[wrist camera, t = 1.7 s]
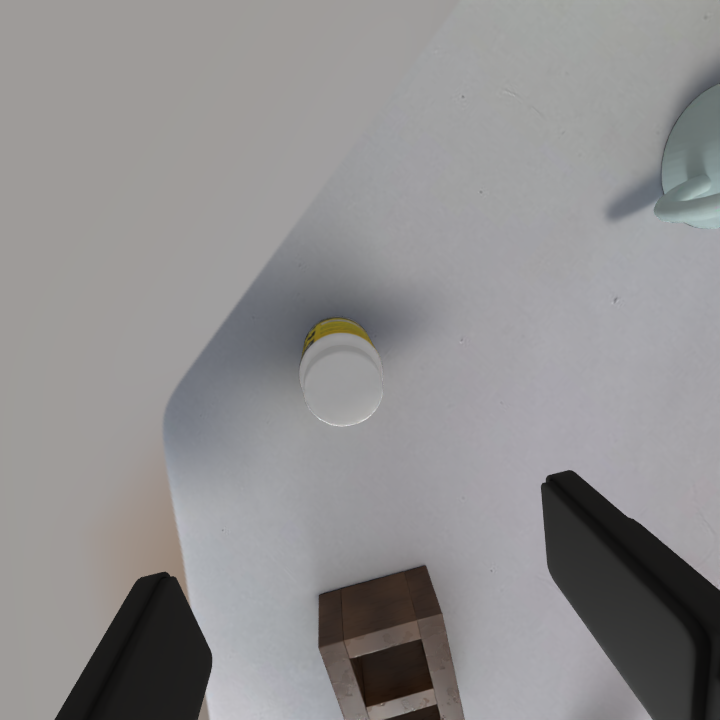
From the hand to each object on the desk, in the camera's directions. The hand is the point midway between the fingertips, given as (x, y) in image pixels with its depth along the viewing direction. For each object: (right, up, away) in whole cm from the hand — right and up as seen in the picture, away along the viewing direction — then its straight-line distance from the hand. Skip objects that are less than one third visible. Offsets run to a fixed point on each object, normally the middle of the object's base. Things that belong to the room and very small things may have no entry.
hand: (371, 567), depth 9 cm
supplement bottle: (-2, +6, +17) cm, 18 cm away
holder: (+3, -22, +25) cm, 34 cm away
